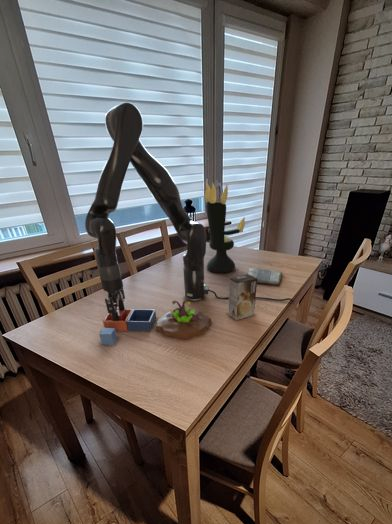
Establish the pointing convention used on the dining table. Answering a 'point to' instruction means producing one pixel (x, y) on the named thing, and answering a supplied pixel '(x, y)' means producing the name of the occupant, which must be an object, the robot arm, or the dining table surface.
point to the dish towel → (266, 276)
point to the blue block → (108, 336)
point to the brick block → (120, 315)
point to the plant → (183, 322)
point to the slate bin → (141, 320)
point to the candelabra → (219, 231)
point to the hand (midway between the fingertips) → (119, 315)
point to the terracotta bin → (117, 324)
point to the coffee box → (242, 296)
